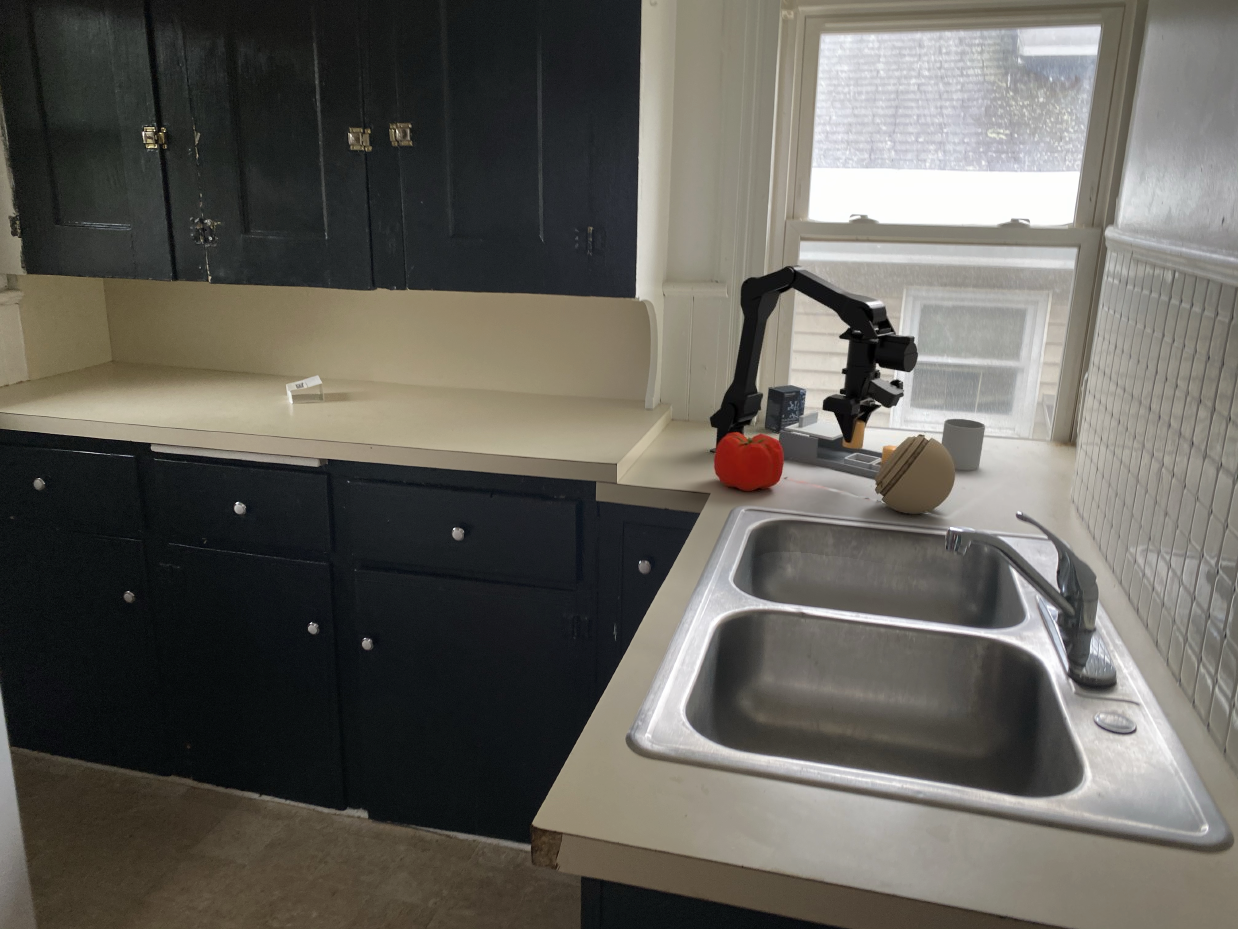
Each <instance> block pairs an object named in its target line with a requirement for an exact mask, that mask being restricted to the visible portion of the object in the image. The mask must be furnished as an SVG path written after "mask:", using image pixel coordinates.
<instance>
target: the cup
mask: <svg viewBox="0 0 1238 929" xmlns="http://www.w3.org/2000/svg"><path fill="white" fill-rule="evenodd" d="M985 430H986V425H985V424H984V423H982V422H980V421H977V420H971V419H965V418H947V419H945V420H944V422H943V430H942V436H941V442H940V443H941V444H942V445H943V446H944V447H945V448H946V449H947V451H948V452H949V454H950V455H951V457H952V460H953V463H954V467H955V470H959V471H975V470H978V469H979V468H980V464H981V456H982V450H983V443H984V439H985V438H984V437H985V432H986V431H985Z"/></svg>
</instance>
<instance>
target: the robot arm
mask: <svg viewBox="0 0 1238 929" xmlns="http://www.w3.org/2000/svg"><path fill="white" fill-rule="evenodd" d="M791 289H793V290H796V291H798V292H799V293H800V294H803V295H805V296H807V297H808V298H809V299H810V298H811V299H812V300H814V301H816V302H818V303H819V304H822V305H824V307H827V308H828V309H830V310H832V311H834V312H835V313H836V314H837V316H838V317H839V320H841V321H842V322H843V323H845V325H847V326H848V327H847V328H846V330H845V331H844V332H842V333H840V334H839V336H838V338H839V339H840V340H844V341H845V340H847V341H848V349H847V356H846V366H845V367H843V368H842V369H841V374H842V375H844V386H843V387H842V388H840V389H839V393H835V394H832V395H827V396H826V397H825V398H824V399H823V400H822V411H824V412H831V413H833V414H834V417H835V419H836V421H837V423H838V424H839V426H840V429H841V432H842V434H843V437H844V440H845V442H846V443H851V441H852V437H853V434H854V429H855V425H856V421H857V420H861V421H864V422H865V428H866V426H867V423H868V422H869V420H870V417H871V416H872V414H873V413H874V412H875V411H877V410H878V409H879V408H881V407H884V408H887V409H891V408H892V407H896V406H897V405H898V403H899V401H900V399H901V398H903V397H904V396H905V393H904V392H905V389H904V381H903V380H900V379H899V378H896V379H893V380H891V381H890V382H889V380H884V379H883V378H881V374H882V373H881V371H880V369H877V365H878V366H879V368H881V369H887V370H891V371H892V370H893V371H898V372H904V373H911V372H912V371H913V370H914V369H915V367H916V364H917V362H918V359H919V358H918V357H919V352H918V347H917V344H916V343H915V340H916V338H915V336H912V335H900V334H897V332H896V331H895V330H896V329H895V328H894V327H893V324H892V323H891V321H890V319H889V317H888V315H887V314H888V313H887V309H886V305H885V304H884V302H883V301H882V300H879V299H876V298H872V297H869V296H866V295H862V294H856V293H853V292H849V291H846V289H845V290H844V288H843V289H842V288H841V287H839V286H837V285H836V284H834V283H832V282H829V281H828V280H826V279H824V278H822V277H820V276H819V275H817V274H814V273H812V272H810V271H808V270H807V269H805V267H803V266H802V265H798V264H797V265H785V266H784V267H783V268H781V269H779V270H776V271H773V272H771V273H770V272H769V273H767V274H765V275H761V276H759V275H758V276H750V277H747V279H745V280H744V281H743V282H742V284H741V286H740V298H739V303H740V304H739V305H740V308H741V311H742V314H743V322H742V327H741V328H742V329H741V334H740V339H739V340H740V341H739V345H738V352H737V356H736V362H735V370H734V374H733V380H732V382H731V383H730V385H729V387H728V388H727V390H726V391H725V393H724V395H723V399H722V401H721V404H720V408H719V409H718V410H717V411H716V412H714V413H713V414H712V415H711V416H710V417H709V422H710V426H711V428H715V429H716V439H715V448H711V449H709V453H713V454H715V451H716V448H717V445H718V443H719V442H720V441H721V439H722V438H723V437H725V436H726V435H727V434H728V433H733V432H738V433H740V434H742V435H744V436H745V434H744V433H745V427H746V426H750V425H751V424H752V421H753V419H754V418H755V417H757V415H758V414H759V411H762V402H763V398H764V393H763V392H760V391H758V388H757V384H756V382H757V376H758V373H759V365H760V360H761V354H762V348H763V343H764V338H765V333H766V327H767V322H768V319H769V318H770V317H771V315H772V314H773V312H774V310H775V308H776V306H777V305H778V301H779V298H780V295H782V294H784V293H786V292H788V291H790V290H791ZM876 402H877V403H876Z"/></svg>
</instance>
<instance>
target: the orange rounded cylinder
mask: <svg viewBox="0 0 1238 929" xmlns="http://www.w3.org/2000/svg"><path fill="white" fill-rule="evenodd" d="M865 430H866V427H865V422H864V421H861V420H857V421H856V425H855V429H854V434H853V437H852V441H851V443H846V442H845V440H844V437H843V444H842V445H843V446H844V447H847V448H853V449H859V448H863V447H864V438H865Z"/></svg>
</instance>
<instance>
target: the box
mask: <svg viewBox="0 0 1238 929" xmlns="http://www.w3.org/2000/svg"><path fill="white" fill-rule="evenodd" d="M806 394H807V389H806V388H802V387H799V386H796V385H793V384H789V385H781V386H780V385H779V386H773V387H772V386H771V387H768V390H767V399H766V400H767V401H766V407H765V408H766V409H765V419H764V420H765V421H764V429H766V430H768V431H771V432H774V433H776V434H779V433H780V431H781V430H782V431H786V432H791V431H787V430H785V427H788V426H790V425H793V424H796V423H799V416H802V415H805V407H806V406H805V405H806V396H807V395H806Z"/></svg>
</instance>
